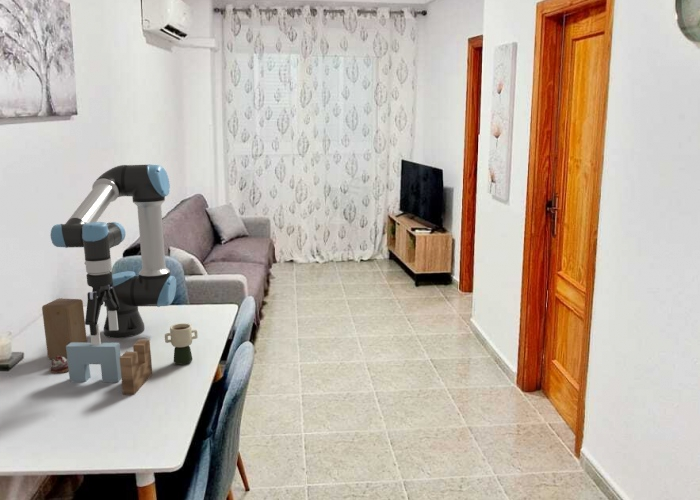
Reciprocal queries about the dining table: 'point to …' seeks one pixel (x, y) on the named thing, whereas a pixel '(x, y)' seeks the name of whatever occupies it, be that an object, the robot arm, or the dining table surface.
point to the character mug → (181, 342)
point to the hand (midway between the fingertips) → (105, 337)
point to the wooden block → (63, 325)
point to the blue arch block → (93, 361)
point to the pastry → (59, 365)
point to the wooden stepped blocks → (136, 367)
